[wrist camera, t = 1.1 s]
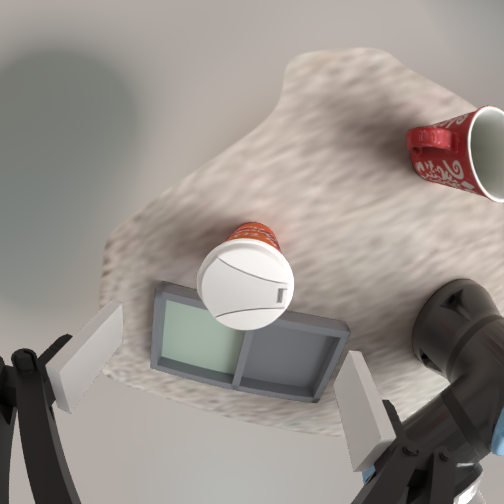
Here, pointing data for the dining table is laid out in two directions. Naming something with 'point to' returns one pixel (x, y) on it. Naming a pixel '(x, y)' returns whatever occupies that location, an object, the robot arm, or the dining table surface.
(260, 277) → the paper cup
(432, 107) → the dining table surface
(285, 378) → the cup carrier
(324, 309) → the dining table surface
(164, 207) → the dining table surface
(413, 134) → the mug
